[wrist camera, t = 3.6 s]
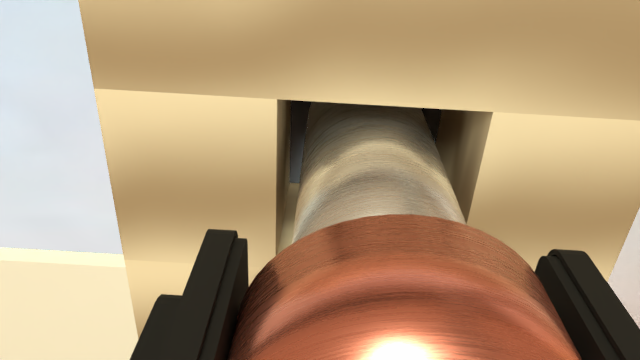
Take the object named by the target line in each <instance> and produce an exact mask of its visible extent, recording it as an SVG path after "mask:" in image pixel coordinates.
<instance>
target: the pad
mask: <svg viewBox="0 0 640 360" xmlns="http://www.w3.org/2000/svg"><path fill="white" fill-rule="evenodd" d="M137 342H138V334H137V329H136V323H135V317H134V312H133V306H132V300H131V295H130V289H129V283H128V278H127V272H126V266H125V261H124V255H123V254H107V253H90V252H73V251H56V250H38V249H21V248H4V247H0V360H130V358H131V355H132V353H133V351H134V349H135V346H136V344H137Z"/></svg>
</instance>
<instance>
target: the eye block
mask: <svg viewBox="0 0 640 360" xmlns="http://www.w3.org/2000/svg"><path fill="white" fill-rule="evenodd" d="M78 1H79V6H80V12H81V18H82V23H83V29H84V35H85V40H86V46H87V52H88V57H89V63H90V69H91V74H92V80H93V86H94V91H95V97H96V103H97V108H98V114H99V119H100V125H101V131H102V136H103V142H104V148H105V153H106V159H107V165H108V170H109V176H110V182H111V187H112V193H113V199H114V204H115V210H116V216H117V221H118V227H119V233H120V238H121V244H122V250H123V255H124V261H125V266H126V272H127V278H128V283H129V289H130V295H131V300H132V306H133V312H134V317H135V323H136V329H137V334H138V340H139V337H140V335H141V333H142V330H143V328H144V326H145V324H146V321H147V319H148V317H149V315H150V312H151V310H152V308H153V306H154V303H155V302H156V300H157V298H158V297H159V296H160V295H161V294H167V295H182V294H183V292H184V289H185V286H186V284H187V281H188V279H189V276H190V273H191V271H192V268H193V265H194V263H195V260H196V258H197V255H198V252H199V250H200V247H201V245H202V242H203V239H204V237H205V234H206V232H207V230H208V229H220V230H236V231H237V233H238V238H246V239H247V242H248V280H249V286H250V284H251V283H252V281H253V280H254V278H255V276H256V275H257V274H258V273H259V272H260V271H261V270H262V269H263V267H264V266H265V265H266V264H267V263H268V262H269V261H270V260H271V259H273V258H274V257H275V256H276V255H277V254H279V253H280V252H281V251H282V250H283V249H285V248H286V247H288V246H290V245H291V244H292V239H293V231H294V223H295V215H296V207H297V199H298V191H299V183H289V173H290V132H291V100H298V101H315V102H332V103H349V104H366V105H383V106H400V107H417V108H434V109H442V112H441V117H440V123H439V128H438V134H437V139H436V148H437V150H438V153H439V156H440V158H441V161H442V163H443V166H444V168H445V171H446V173H447V176H448V179H449V181H450V184H451V186H452V189H453V191H454V194H455V196H456V199H457V201H458V204H459V207H460V209H461V212H462V214H463V217H464V219H465V222H466V224H467V225H468V226H471V227H473V228H476V229H479V230H481V231H483V232H485V233H487V234H489V235H491V236H493V237H495V238H497V239H499V240H500V241H502V242H503V243H504V244H506V245H507V246H509V247H510V248H511V249H513V250H514V251H516V252H517V253H518V254H519V255H520V256H521V257H522V258H523V259H524V260H525V261H526V262H527V263H528V264H529V265H530V267H531V268H532V269H533V271H534V272H535V269H536V266H537V263H538V261H539V258H540V257H541V256H547V255H548V253H549V252H550V251H551V250H553V249H563V250H580V251H584V252H586V253H587V254H588V255H589V257H590V258H591V260H592V261H593V263H594V264H595V266H596V267H597V268H598V270H599V271H600V273H601V274H602V276H603V277H604V279H605V280H606V281H608V279H609V277H610V274H611V272H612V270H613V267H614V265H615V263H616V260H617V258H618V256H619V253H620V251H621V249H622V246H623V244H624V242H625V240H626V237H627V235H628V233H629V230H630V228H631V226H632V223H633V221H634V219H635V216H636V214H637V212H638V209H639V207H640V0H78Z"/></svg>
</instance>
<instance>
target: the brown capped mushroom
mask: <svg viewBox="0 0 640 360" xmlns="http://www.w3.org/2000/svg"><path fill="white" fill-rule="evenodd" d="M227 360H582V359H581V357H580V355H579V353H578V351H577V349H576V348H575V346H574V344H573V342H572V340H571V338H570V336H569V334H568V332H567V330H566V329H565V327H564V325H563V323H562V321H561V319H560V317H559V315H558V313H557V311H556V310H555V308H554V306H553V304H552V302H551V300H550V298H549V296H548V294H547V292H546V291H545V289H544V287H543V285H542V283H541V281H540V279H539V277H538V276H537V275H536V273H535V272H534V271H533V269H532V268H531V267H530V265H529V264H528V263H527V262H526V261H525V260H524V259H523V258H522V257H521V256H520V255H519V254H518V253H517V252H516V251H514V250H513V249H511V248H510V247H509V246H507V245H506V244H504V243H503V242H502V241H500V240H499V239H497V238H495V237H493V236H491V235H489V234H487V233H485V232H483V231H481V230H479V229H476V228H473V227H471V226H468V225H467V224H466V222H465V219H464V217H463V214H462V212H461V209H460V207H459V204H458V201H457V199H456V196H455V194H454V191H453V189H452V186H451V184H450V181H449V179H448V176H447V173H446V171H445V168H444V166H443V163H442V161H441V158H440V156H439V153H438V150H437V148H436V145H435V143H434V140H433V138H432V135H431V133H430V130H429V128H428V125H427V122H426V120H425V117H424V115H423V112H422V110H421V108H417V107H400V106H383V105H366V104H349V103H332V102H315V101H312V103H311V106H310V109H309V113H308V120H307V128H306V135H305V143H304V151H303V159H302V167H301V175H300V183H299V191H298V199H297V207H296V215H295V223H294V231H293V239H292V244H291V245H290V246H288V247H286V248H285V249H283V250H282V251H281V252H280V253H279V254H277V255H276V256H275V257H274V258H273V259H271V260H270V261H269V262H268V263H267V264H266V265H265V266H264V267H263V269H262V270H261V271H260V272H259V273H258V274H257V275H256V276H255V278H254V280H253V281H252V283H251V284H250V286H249V287H248V289H247V290H246V293H245V295H244V297H243V300H242V302H241V304H240V308H239V312H238V316H237V321H236V325H235V329H234V334H233V338H232V342H231V346H230V351H229V355H228V359H227Z"/></svg>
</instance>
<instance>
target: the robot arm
mask: <svg viewBox="0 0 640 360" xmlns="http://www.w3.org/2000/svg"><path fill="white" fill-rule="evenodd" d="M535 273H536V275H537V276H538V277H539V279H540V281H541V283H542V285H543V287H544V289H545V291H546V292H547V294H548V296H549V298H550V300H551V302H552V304H553V306H554V308H555V310H556V311H557V313H558V315H559V317H560V319H561V321H562V323H563V325H564V327H565V329H566V330H567V332H568V334H569V336H570V338H571V340H572V342H573V344H574V346H575V348H576V349H577V351H578V353H579V355H580V357H581V359H582V360H640V329H639V328H638V326H637V325H636V323H635V322H634V320H633V319H632V317H631V316H630V315H629V313H628V312H627V310H626V309H625V307H624V306H623V304H622V303H621V302H620V300H619V299H618V297H617V296H616V294H615V293H614V292H613V290H612V289H611V287H610V286H609V284H608V283H607V281H606V280H605V279H604V277H603V276H602V274H601V273H600V271H599V270H598V268H597V267H596V266H595V264H594V263H593V261H592V260H591V258H590V257H589V255H588V254H587V253H586V252H584V251H580V250H563V249H553V250H551V251H550V252H549V253H548V255H547V256H541V257H540V258H539V261H538V263H537V266H536V269H535ZM248 287H249V280H248V242H247V239H246V238H238V233H237V231H236V230H220V229H208V230H207V232H206V234H205V237H204V239H203V242H202V245H201V247H200V250H199V252H198V255H197V258H196V260H195V263H194V265H193V268H192V271H191V273H190V276H189V279H188V281H187V284H186V286H185V289H184V292H183V294H182V295H167V294H161V295H160V296H159V297H158V298H157V300H156V302H155V303H154V306H153V308H152V310H151V312H150V315H149V317H148V319H147V321H146V324H145V326H144V328H143V330H142V333H141V335H140V337H139V340H138V342H137V344H136V346H135V349H134V351H133V353H132V355H131V358H130V360H227V359H228V355H229V351H230V346H231V342H232V338H233V334H234V329H235V325H236V321H237V316H238V312H239V308H240V304H241V302H242V300H243V297H244V295H245V293H246V290H247V289H248Z"/></svg>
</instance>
